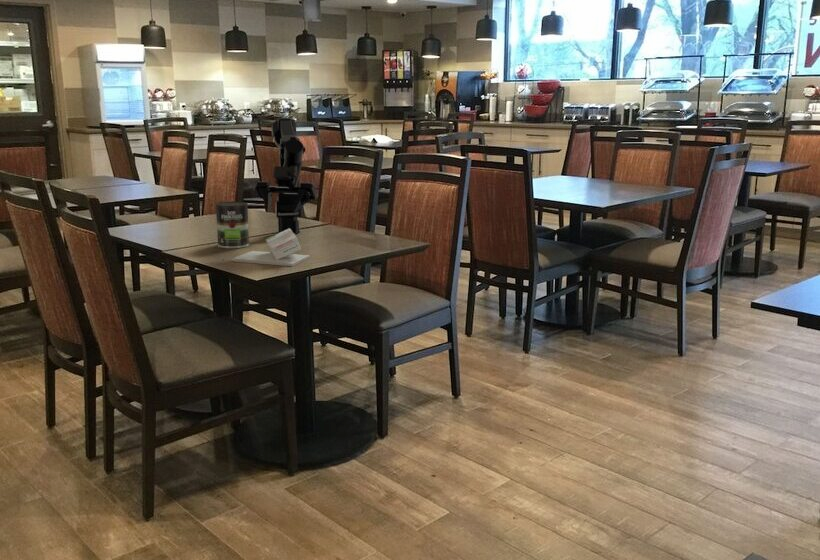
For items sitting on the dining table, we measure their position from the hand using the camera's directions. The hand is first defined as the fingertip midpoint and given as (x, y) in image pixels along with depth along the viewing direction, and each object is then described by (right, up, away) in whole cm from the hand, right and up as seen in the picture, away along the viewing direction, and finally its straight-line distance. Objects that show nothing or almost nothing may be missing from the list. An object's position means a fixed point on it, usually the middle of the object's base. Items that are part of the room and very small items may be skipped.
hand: (280, 212), depth 230 cm
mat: (-2, -15, -4) cm, 15 cm away
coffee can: (-18, -10, +17) cm, 27 cm away
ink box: (0, -9, +3) cm, 9 cm away
